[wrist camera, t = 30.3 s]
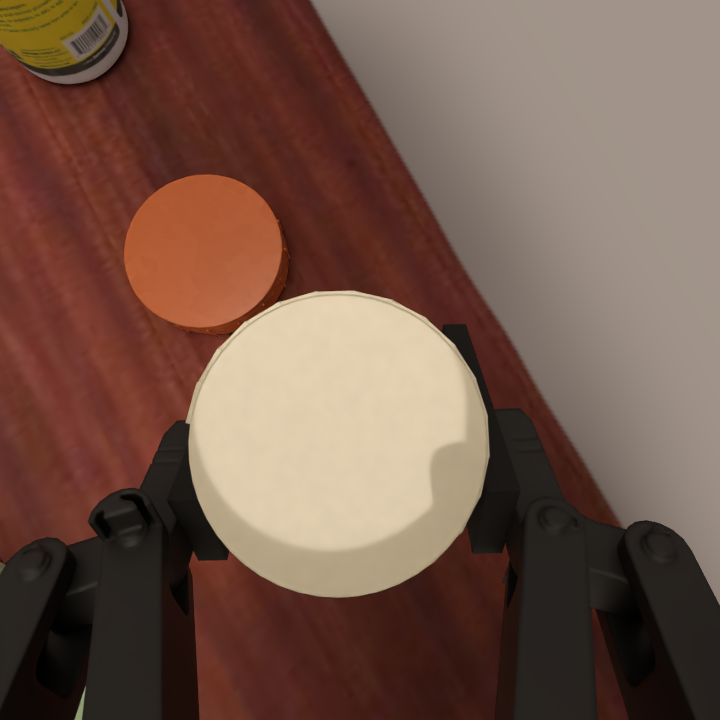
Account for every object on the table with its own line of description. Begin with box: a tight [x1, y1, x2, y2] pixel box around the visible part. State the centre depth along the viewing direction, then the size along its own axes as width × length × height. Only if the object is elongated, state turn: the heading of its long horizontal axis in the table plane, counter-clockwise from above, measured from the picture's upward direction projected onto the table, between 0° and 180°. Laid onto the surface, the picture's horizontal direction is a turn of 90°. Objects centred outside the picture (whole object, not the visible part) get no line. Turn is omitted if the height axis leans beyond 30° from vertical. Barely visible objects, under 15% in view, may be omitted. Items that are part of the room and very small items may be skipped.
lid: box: [124, 174, 290, 336], centre depth 21 cm, size 7×7×2 cm
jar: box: [186, 291, 490, 598], centre depth 14 cm, size 6×6×11 cm
